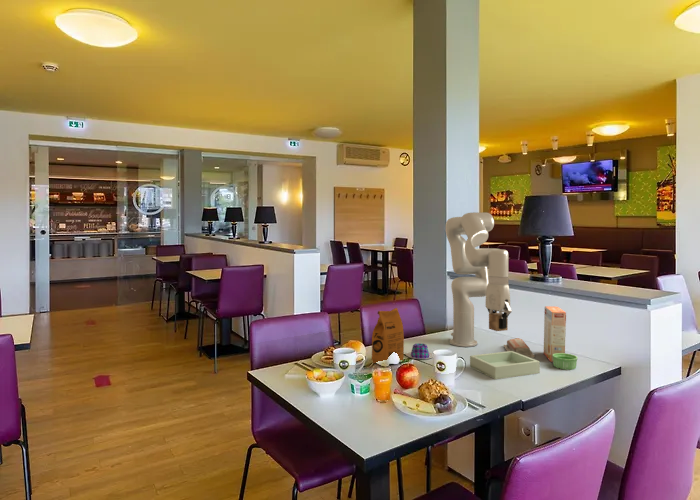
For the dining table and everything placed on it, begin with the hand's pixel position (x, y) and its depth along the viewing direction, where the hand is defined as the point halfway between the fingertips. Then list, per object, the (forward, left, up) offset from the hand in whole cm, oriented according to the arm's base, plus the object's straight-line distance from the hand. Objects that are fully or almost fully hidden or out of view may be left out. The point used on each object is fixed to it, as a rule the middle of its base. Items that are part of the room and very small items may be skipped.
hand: (498, 326), depth 185 cm
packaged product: (-16, +23, -17) cm, 33 cm away
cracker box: (-2, +30, -16) cm, 34 cm away
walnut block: (0, 0, -1) cm, 1 cm away
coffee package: (-21, -38, -16) cm, 46 cm away
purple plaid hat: (-25, -21, -17) cm, 37 cm away
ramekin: (+9, +25, -17) cm, 31 cm away
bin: (+4, 0, -16) cm, 17 cm away
